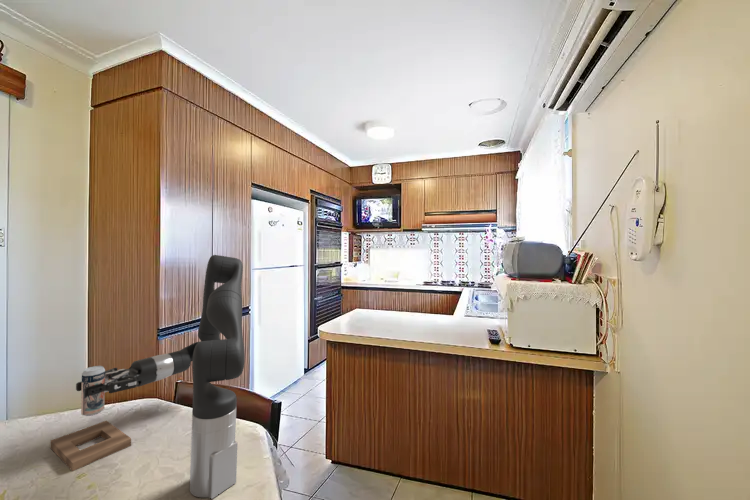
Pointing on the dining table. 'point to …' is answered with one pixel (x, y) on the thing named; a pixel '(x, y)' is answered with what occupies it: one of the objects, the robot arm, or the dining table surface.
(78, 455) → the frame
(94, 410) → the beer can
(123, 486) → the dining table surface
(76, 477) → the dining table surface
